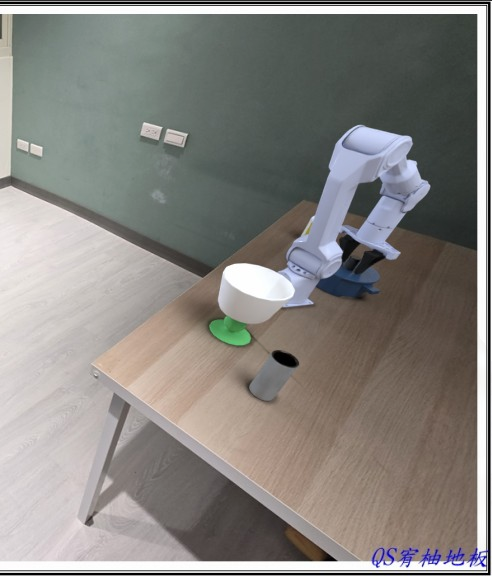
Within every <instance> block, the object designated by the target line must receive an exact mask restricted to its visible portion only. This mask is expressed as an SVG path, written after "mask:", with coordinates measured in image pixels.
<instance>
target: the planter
mask: <svg viewBox="0 0 492 576" xmlns="http://www.w3.org/2000/svg"><path fill="white" fill-rule="evenodd" d="M299 366H300V361H299V359H298V358H297V357H296V356H295V355H294V354H292V353H290V352H288V351H286V350H281V349H276V350H273V351H271V353H270V354H269V356H268V357H267V359H266V361H265V362H263V364H262V366H261V368H260V369H259V371H258V372H257V374H256V375H255V377H254V378H253V380H251V382H250V384H249V386H248V387H249V388H248V389H249V392H250V393H251V394H252V395H253V396H255V397H256V398H257V399H259V400H261V401H264V402H265V401H266V402H271V401H273V400H274V399H275V398H276V396H277V395H278V394H279V392H280V391H281V390H282V388H283V387H284V386H285V385H286V384H287V382H288V381H289V379H290V378H291V377H292V376H293V374H294V373H295V372H296V370H298V368H299Z"/></svg>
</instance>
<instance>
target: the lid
mask: <svg viewBox="0 0 492 576" xmlns="http://www.w3.org/2000/svg"><path fill="white" fill-rule="evenodd" d="M361 260H362V257H361V256H359V255H357V254H356V255H355V254H351V255H350V256H349V258H348V259H347V260H346V261H345V262H343V263H342V264H341V266H340V268H339V269H338V270H337V271H336V272H335V273H334V274H333V275H334V276H336V277H338V278H341V279H344V280H347V281H350V282H355V283H361V284H372V283H373V284H376V283H378V282H379V280H380V279H381V275H380V274H379V272H378V271H377V270H376V269H375V268H374V267H372V266H371V267H369V268H368V269H367V270H366V271H364V272H363V273H362V274H355V273H354V271H355V269H356V268H357V266H358V265H359V263H360V262H361Z"/></svg>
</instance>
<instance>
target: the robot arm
mask: <svg viewBox="0 0 492 576" xmlns="http://www.w3.org/2000/svg"><path fill="white" fill-rule="evenodd" d="M413 145H414V142H413V138H412V137H411V136H409V135H401V134H396V133H392V132H388V131H384V130H380V129H376V128H371V127H368V126H366V125H364V124H358V125H355V126H353V127H352V128H350V129H348V130H347V131H346V132H345V133H344V134H343V135H342V137H341V138H339V139H338V140H337V142H336V143H335V145H334V149H333V151H332V155H331V158H330V161H329V164H328V169H329V171H330V172H329V173H328V176H327V179H326V180H325V184H324V188H323V190H322V193H321V196H320V199H319V202H318V205H317V207H316V211H315V214H314V216H315V217H314V220H313V223H312V226H311V229H310V232H309V234H307V235H304V236H301V235H300V236H299V237H298V238H296V239H295V240H293V242H292V244H291V246H290V247H289V249H288V250H287V251H286V254H285V255H286V256H285V259H286V261H287V263H286V266H287V267H285V268H284V269H282V270H278V271H276V272H277V273H278V274H280V275H282V276H284V277H285V278H286V279H287V280H288V281H290V282H291V284H292V286H293V287H294V289H295V292H294V295H293V297H292V298H291V299H290V300H289V301H288V302H287V303H286V304H284V305H283V306H282V307H281V308H289V307H299V306H307V305H308V306H309V305H314V302H313V301H312V300H310V299H309V298H310V295H311V294H312V293H313V291H314V290H315V288H316V287H317V286H316V285H317V284H318V282H319V281H320V279H324V278H328V277H330V276H331V275H333V274H334V273H335V272H336V271H337V270H338V269H339V268H340V266H341V264H342V263H343V262H345V261H346V260H347V259H348V258H349V257H350V256H351V255H353V253H354V251H355V250H356V249H357V248H358V247H359V246H360V245H361V244H362V245H364V246H366V247H367V248H370V250H365V251H364V252H363V255H362V257H361V258H362V260H361V261H360V263H359V265H358V266H357V268H356V269H355V271H354V273H355V274H362V273H363V272H364V271H366V270H367V269H368V268H369V267H372V266H374V265H375V264H377V263H379V262H380V261H383V260H385V259H387V260H389V261H391V260H397V258H398V257H399V256H400V255H401V251H399V250H397V249H395V248H394V247H393V246H392V245H391V244H390V243H388V242H387V241H386V240H387V239H388V238H389V237H390V236H391V234H392V233H393V231H394V230H395V228H396V227H397V226H398V225H399V223H400V222H401V220H402V219H403V218H404V217H405V216H406V214H407V212H409V211H412V209H414V207H415V206H416V205H417V204H418V203H419V202H420V201H422V200H423V198H425V197H426V195H427V194H428V193H429V191H430V189H431V184H429V181H428V180H425V179H422V177H421V174H420V172H419V169H418V163H417V161H416V160H412V159H407V155H408V154H409V152H410V150H411V148H412V147H413ZM378 178H379V180H380V181H381V182H382V184H381V188H380V191H379V195H381V197H380V199H379V200H378V202H377V203H376V204H375V206H374V208H373V209H372V210H371V211H370V213H369V215H368V217H367V218H366V219H365V221H364V222H363V224H362V225H361V227H360V228H359V229H358V228H355V227H353V226H351V225H349V224H345V225H344V224H343V223H344V221H345V219H346V216H347V213H348V211H349V208H350V206H351V203H352V200H353V198H354V196H355V193H356V191H357V189H358V186H359V184H365V183H366V184H367V183H372V182H374V181H375V180H377V179H378ZM339 233H340V234H344V236H341V237H339V239H338V236H339ZM337 239H338V242H339V244H338V242H337ZM371 249H372V250H371Z"/></svg>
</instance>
